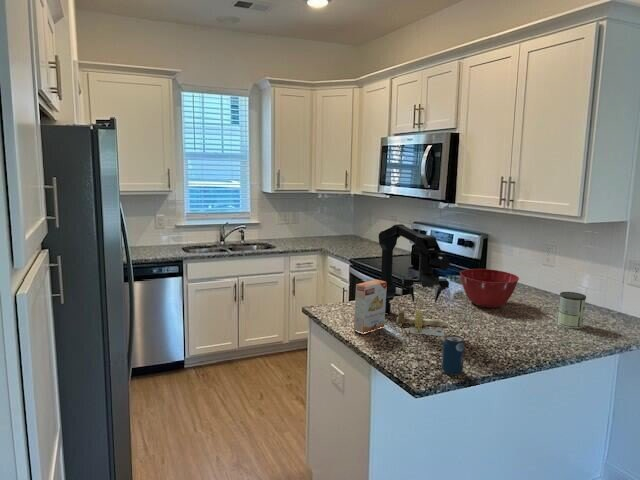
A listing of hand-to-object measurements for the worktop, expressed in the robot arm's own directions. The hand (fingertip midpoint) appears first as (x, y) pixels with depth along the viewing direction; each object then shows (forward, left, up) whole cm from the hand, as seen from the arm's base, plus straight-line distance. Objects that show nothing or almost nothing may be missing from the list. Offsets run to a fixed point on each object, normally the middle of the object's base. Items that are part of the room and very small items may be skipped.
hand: (424, 302), depth 198 cm
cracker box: (-22, -6, -13) cm, 26 cm away
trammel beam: (-1, +3, -12) cm, 13 cm away
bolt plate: (-1, -3, -12) cm, 13 cm away
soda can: (+9, -40, -13) cm, 43 cm away
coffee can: (+66, +23, -13) cm, 71 cm away
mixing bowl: (+34, +48, -13) cm, 60 cm away
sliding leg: (-2, +2, -12) cm, 13 cm away
